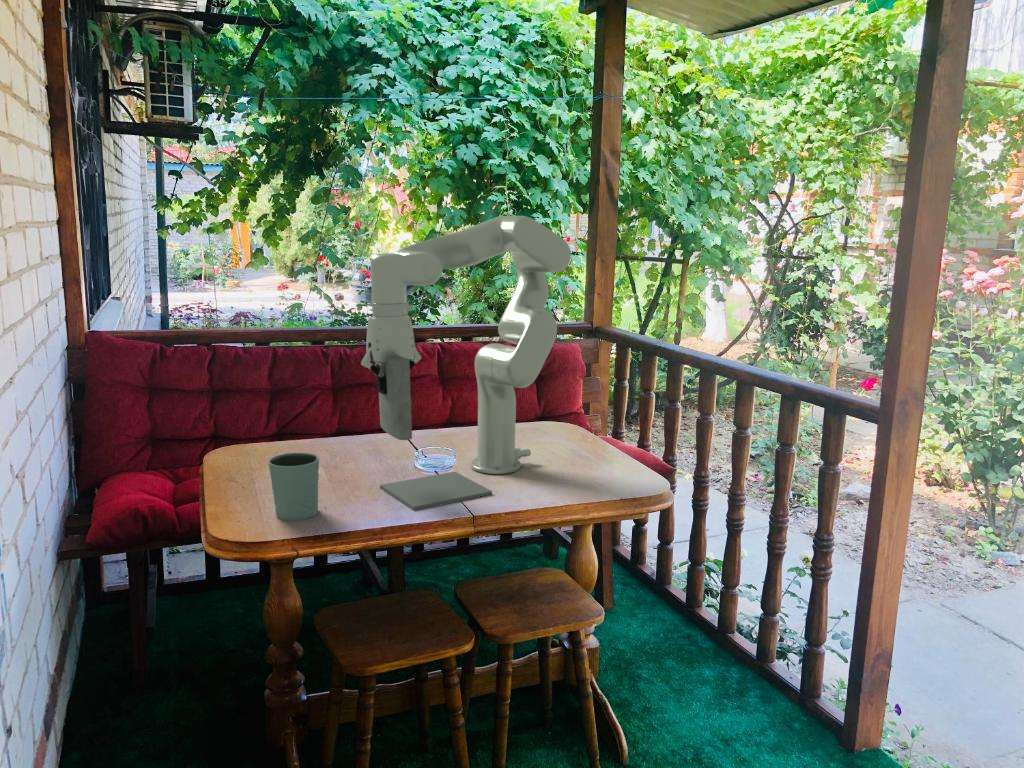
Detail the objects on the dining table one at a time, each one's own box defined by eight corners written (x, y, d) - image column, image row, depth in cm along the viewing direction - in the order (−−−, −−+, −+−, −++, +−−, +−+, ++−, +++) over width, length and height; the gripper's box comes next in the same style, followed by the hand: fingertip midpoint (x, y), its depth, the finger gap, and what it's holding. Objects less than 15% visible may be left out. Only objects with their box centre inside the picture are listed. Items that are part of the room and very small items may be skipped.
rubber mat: (455, 474, 194) (455, 471, 194) (491, 494, 180) (491, 491, 180) (380, 488, 183) (380, 484, 183) (413, 510, 169) (413, 506, 169)
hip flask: (414, 438, 172) (411, 348, 168) (396, 441, 170) (392, 350, 166) (391, 421, 186) (388, 338, 182) (374, 424, 184) (371, 339, 180)
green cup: (328, 516, 165) (326, 461, 163) (280, 526, 159) (278, 469, 157) (309, 502, 173) (308, 449, 171) (264, 511, 167) (261, 456, 165)
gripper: (417, 306, 180) (419, 384, 184) (347, 311, 171) (351, 393, 175) (432, 309, 174) (434, 390, 178) (360, 315, 165) (364, 400, 169)
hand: (392, 391), depth 176 cm, fingers closed on hip flask, 4 cm apart
